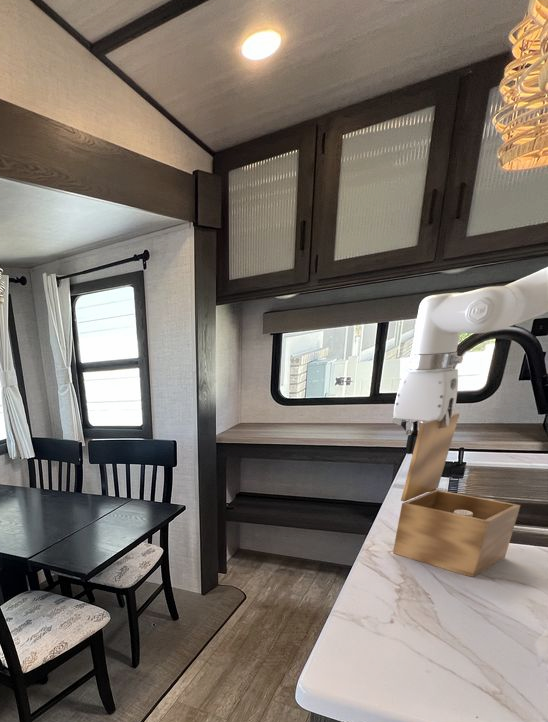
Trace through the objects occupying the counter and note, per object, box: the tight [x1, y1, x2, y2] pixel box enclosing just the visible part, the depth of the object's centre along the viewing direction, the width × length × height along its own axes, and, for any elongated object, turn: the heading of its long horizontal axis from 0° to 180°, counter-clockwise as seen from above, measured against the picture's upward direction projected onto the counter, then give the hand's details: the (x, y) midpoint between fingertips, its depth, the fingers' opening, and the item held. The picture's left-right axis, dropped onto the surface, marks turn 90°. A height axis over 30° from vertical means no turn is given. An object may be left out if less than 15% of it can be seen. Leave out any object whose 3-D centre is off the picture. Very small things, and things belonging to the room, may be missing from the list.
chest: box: [392, 489, 521, 578], centre depth 99 cm, size 16×14×12 cm
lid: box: [400, 412, 460, 503], centre depth 99 cm, size 16×14×1 cm
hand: (414, 453), depth 101 cm, fingers closed
